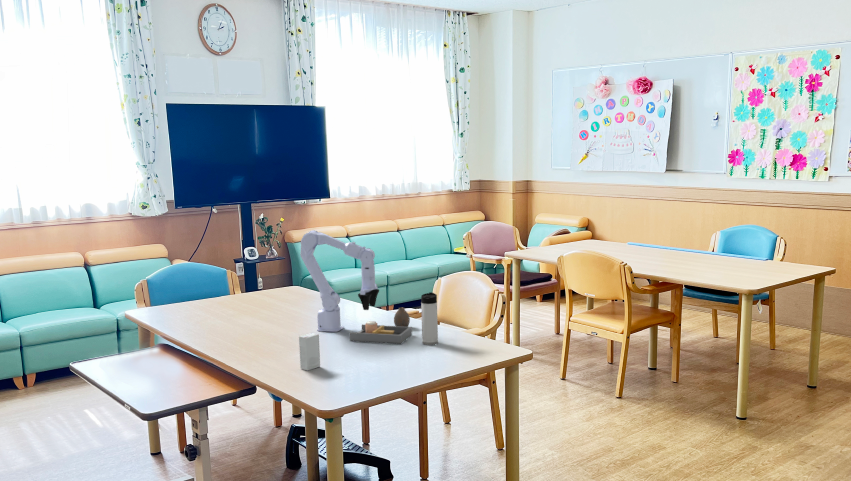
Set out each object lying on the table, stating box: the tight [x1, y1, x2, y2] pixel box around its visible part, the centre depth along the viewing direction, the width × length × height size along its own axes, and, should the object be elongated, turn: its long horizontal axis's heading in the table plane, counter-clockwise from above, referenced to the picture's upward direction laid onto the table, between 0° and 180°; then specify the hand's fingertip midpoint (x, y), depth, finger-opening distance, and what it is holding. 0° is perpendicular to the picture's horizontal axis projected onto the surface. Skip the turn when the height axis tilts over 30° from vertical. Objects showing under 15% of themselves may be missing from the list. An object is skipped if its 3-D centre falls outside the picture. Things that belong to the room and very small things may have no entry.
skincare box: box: [298, 332, 321, 371], centre depth 244 cm, size 6×4×12 cm
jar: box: [364, 320, 379, 333], centre depth 283 cm, size 5×5×6 cm
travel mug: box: [420, 291, 439, 346], centre depth 272 cm, size 6×7×20 cm
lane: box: [349, 324, 413, 345], centre depth 282 cm, size 22×14×4 cm, turn 73°
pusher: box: [372, 324, 394, 334], centre depth 281 cm, size 7×11×3 cm, turn 163°
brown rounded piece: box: [393, 307, 411, 327], centre depth 298 cm, size 7×7×9 cm
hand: (369, 307), depth 296 cm, fingers open, 7 cm apart
